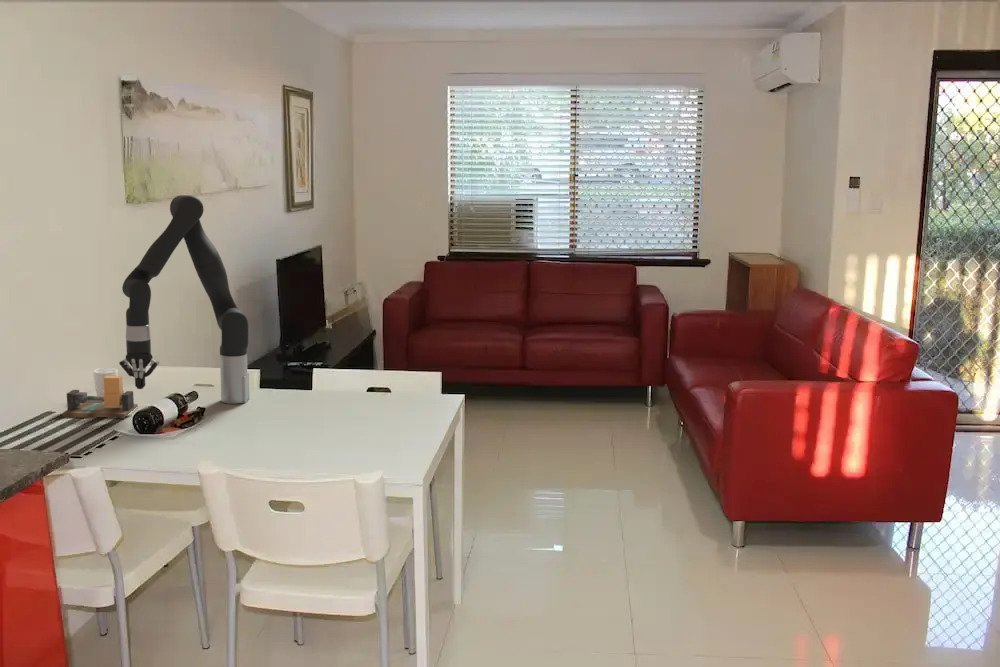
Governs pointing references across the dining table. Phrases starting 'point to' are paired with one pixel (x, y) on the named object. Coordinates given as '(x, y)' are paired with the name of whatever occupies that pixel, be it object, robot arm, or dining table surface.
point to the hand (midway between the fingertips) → (140, 388)
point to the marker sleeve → (113, 391)
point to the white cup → (102, 378)
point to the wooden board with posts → (97, 405)
